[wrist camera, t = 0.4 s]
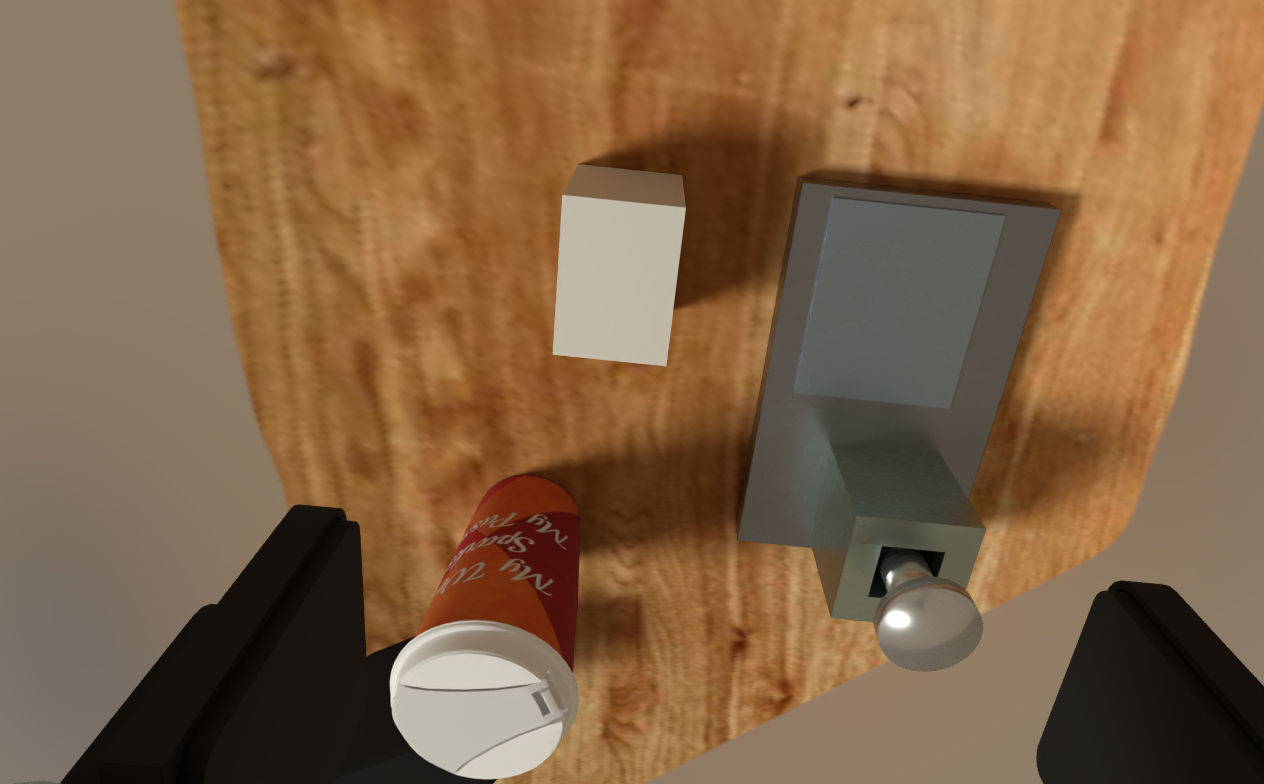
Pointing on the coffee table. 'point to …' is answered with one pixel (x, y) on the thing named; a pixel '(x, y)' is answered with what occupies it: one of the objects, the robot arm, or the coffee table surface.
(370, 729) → the electronic device
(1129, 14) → the coffee table surface
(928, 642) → the pin
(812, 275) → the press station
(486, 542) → the coffee cup
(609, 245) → the block
